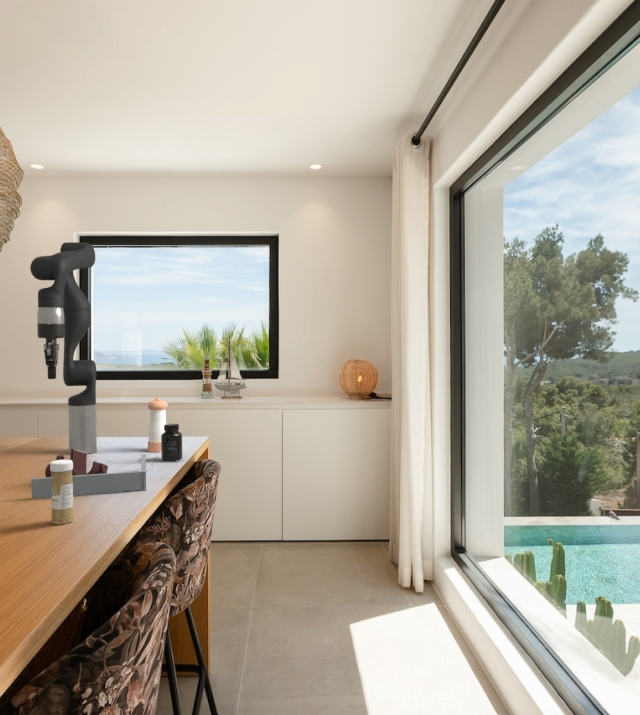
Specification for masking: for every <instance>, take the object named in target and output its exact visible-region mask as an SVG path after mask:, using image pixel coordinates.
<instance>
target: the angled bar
mask: <svg viewBox="0 0 640 715" xmlns="http://www.w3.org/2000/svg"><path fill="white" fill-rule="evenodd" d="M146 456H147V455H146V453H145V454H144V453H143V454H141V461H140V463H141V464H140V470H137V471H122V472H121V471H119V472H107V473H105V474H90V475H75V476H72V482H73V497H77V496H90V495H91V494H92V495H100V494H101V493H105V494H113V493H112V492H118V493H124V492H123V491H131V492H136V491H135V490H143V491H147V462H146V461H147V460H146V459H147V457H146ZM30 481H31V485H30V486H31V500H40V499H51V477H46V476H45V477H36V478H35V477H34V478H31V480H30ZM101 495H102V494H101Z"/></svg>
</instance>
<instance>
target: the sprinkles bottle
mask: <svg viewBox="0 0 640 715" xmlns="http://www.w3.org/2000/svg"><path fill="white" fill-rule="evenodd" d="M49 464H50V471H51V498H50V499H51V503H50V504H51V505H50V508H51V520H50V522H51V524H53V525H64V524H68V523H69V524H70V523H72V522H73V521H74V514H73V512H74V510H73V506H74V496H73V482H72V469H73V461H72V460H70V459H64V460H56V459H55V460H54V461H51V462H50V463H49Z"/></svg>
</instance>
